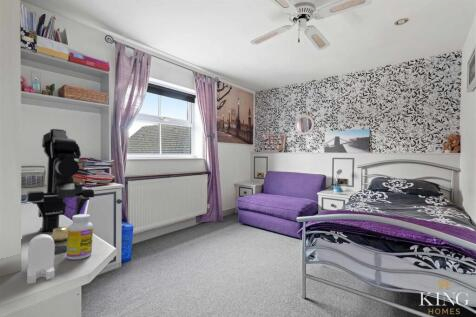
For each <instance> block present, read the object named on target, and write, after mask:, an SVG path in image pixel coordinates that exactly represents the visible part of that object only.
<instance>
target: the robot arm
mask: <svg viewBox="0 0 476 317" xmlns="http://www.w3.org/2000/svg"><path fill="white" fill-rule="evenodd" d="M41 148H43V152H44V154H45V156H46V157H47V176H46V191H45V192H44V191H43V190H34V191H33V190H32V191H31V190H30V191H28V192H26V197H25V201H27V202H31V204H33V205H36V206H37V208H38V210H37V212H38V215H37V216H38V217H39V218H42V221H41V227H39V230H40V232H41V233H47V232H53V229H55V228H59V227H60V216H64V215H66V207H67V203H66V202H65V200H64V199H67V198H71V199H72V198H76V204H75V206H76V207H75V215H79V214H81V211H82V208H83V206H84V205H85V203H86V201H88V200H90V199H91V198H95V191H94V190H93V189H92V188H83V183H82V182H74V176H75V175H77V173H78V172H79V169H80V165H79V163H78V161H76V160H75V159H77V160H80V158H81V154H82V153H81V150H80V146H79V144H78V143H77V141H76V139H73V138H69V137H68V135H67V131H66V130H64V129H59V128H51V129H50V130H49V132H47V133H44V134H43V136H42V141H41Z"/></svg>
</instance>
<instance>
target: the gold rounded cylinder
mask: <svg viewBox="0 0 476 317" xmlns="http://www.w3.org/2000/svg"><path fill="white" fill-rule="evenodd" d="M68 227H69V226H68ZM68 227H67V226H63V227H61V226H59V228H55V229H53V231H52V236H53V240H54V244H55V243H61V242H67V238H68Z"/></svg>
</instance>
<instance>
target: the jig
mask: <svg viewBox="0 0 476 317" xmlns="http://www.w3.org/2000/svg"><path fill="white" fill-rule="evenodd" d="M50 236H51V235H50ZM51 237H52V238H53V235H52V236H51ZM62 252H67V242H61V243H55V250H54V254H58V253H62Z"/></svg>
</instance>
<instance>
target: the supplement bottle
mask: <svg viewBox="0 0 476 317" xmlns="http://www.w3.org/2000/svg"><path fill="white" fill-rule="evenodd" d="M71 218H72V220H71V221H72V223H70V224H69V225H68V238H67V251H66V259H67V260H72V261H78V260H83V259H86V258H89V257H90V256H91V255H92V252H93V251H92V250H93V234H94V233H93V232H94V231H93V230H94V225H93V223H92V222H90V219H91V215H90V214H88V213H79V215H76V214H74V215H72V217H71Z"/></svg>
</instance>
